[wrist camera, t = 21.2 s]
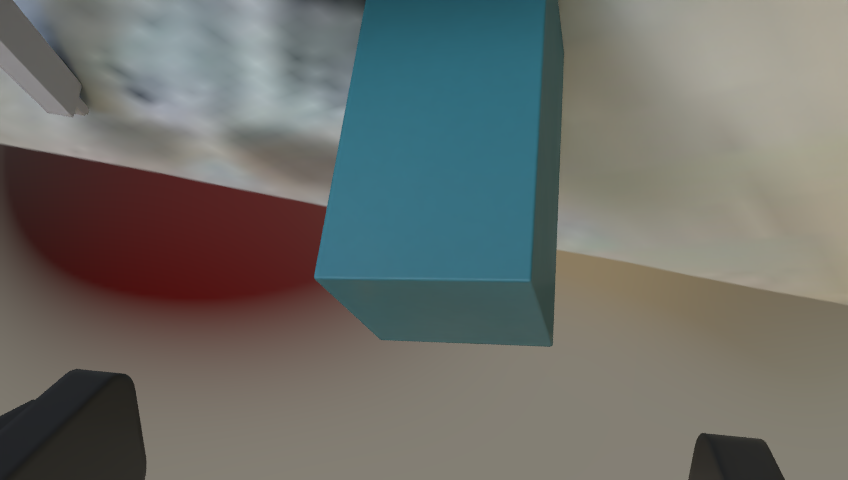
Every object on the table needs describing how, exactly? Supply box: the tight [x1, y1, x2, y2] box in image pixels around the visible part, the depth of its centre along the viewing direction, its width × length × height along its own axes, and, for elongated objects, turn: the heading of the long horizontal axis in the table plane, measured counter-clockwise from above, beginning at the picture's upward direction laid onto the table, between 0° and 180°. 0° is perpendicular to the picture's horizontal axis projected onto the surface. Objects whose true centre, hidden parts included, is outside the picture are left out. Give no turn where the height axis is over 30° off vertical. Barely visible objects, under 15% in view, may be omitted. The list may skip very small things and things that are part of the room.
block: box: [314, 0, 564, 347], centre depth 19 cm, size 5×5×10 cm
